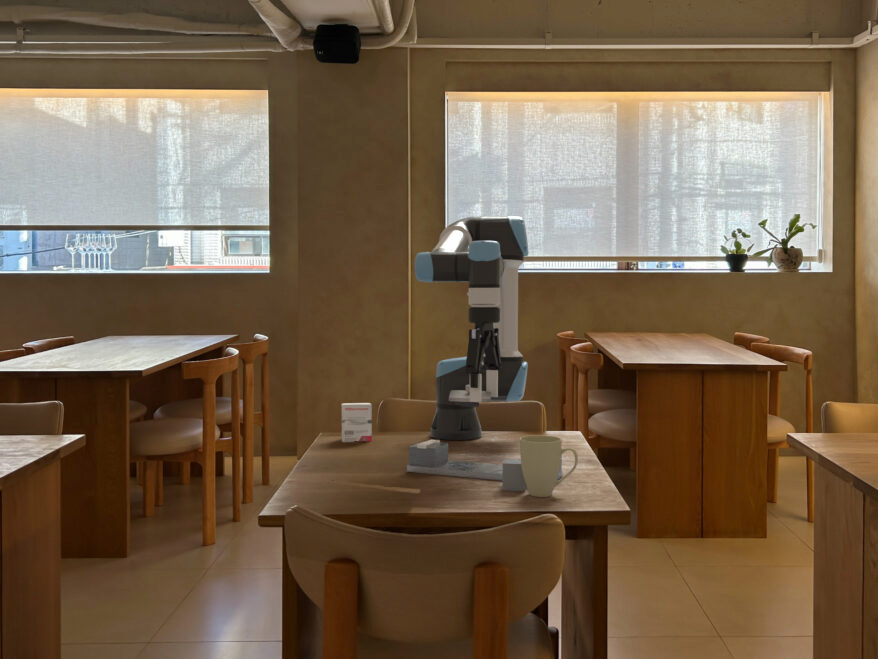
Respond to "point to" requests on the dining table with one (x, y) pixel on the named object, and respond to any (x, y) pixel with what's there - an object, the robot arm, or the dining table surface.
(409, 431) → the dining table surface
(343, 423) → the ink box
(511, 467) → the block
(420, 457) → the rail
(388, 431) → the dining table surface
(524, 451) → the mug
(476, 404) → the grey cover with knob
